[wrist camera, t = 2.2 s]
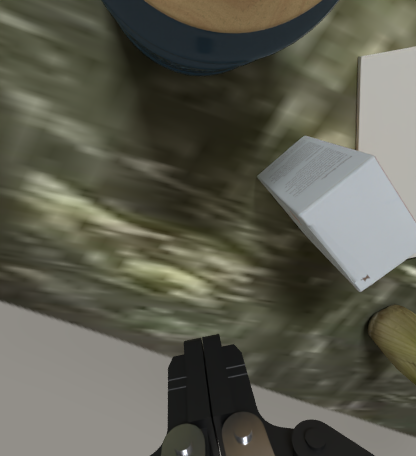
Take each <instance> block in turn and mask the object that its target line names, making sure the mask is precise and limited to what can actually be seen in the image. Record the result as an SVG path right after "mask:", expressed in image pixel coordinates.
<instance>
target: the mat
mask: <svg viewBox="0 0 416 456" xmlns="http://www.w3.org/2000/svg"><path fill="white" fill-rule="evenodd" d="M356 150H357V151H360V152H364V153H367V154H371V155H374V156H375V157H376V159H377V161H378V162H379V164H380V165H381V167H382V168H383V170H384V172H385V173H386V175H387V176H388V178H389V180H390V181H391V183H392V185H393V186H394V188H395V189H396V191H397V192H398V194H399V196H400V197H401V199H402V200H403V202H404V204H405V205H406V207H407V208H408V210H409V211H410V213H411V215H412V216H413V218H414V219H415V221H416V47H411V48H405V49H400V50H394V51H389V52H383V53H378V54H372V55H366V56H361V57H358V90H357V131H356ZM413 257H416V253H415V254H413V255H412V256H411V257H409V258H413Z"/></svg>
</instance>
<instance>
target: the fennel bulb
mask: <svg viewBox="0 0 416 456" xmlns="http://www.w3.org/2000/svg"><path fill="white" fill-rule="evenodd" d="M368 334H369V336H370V337H371V338H372V339H373V341H374V342H375V343H376V344H377V346H378V347H379V348H380V350H381V351H382V352H383V354H384V355H385V356H386V357H387V358H388V359H389V360H390V362H391V363H392V364H393V365H394V366H395V367H396V368H397V369H398V370H399V371H400V372H401V373H402V374H403V375H405V376H406V377H407V378H408V379H409V380H410V381H411V382H413V383H414V384H415V385H416V314H414V313H413V312H411V311H410V310H408V309H406V308H405V307H402V306H400V305H396V304H394V305H390V306H388V307H387V308H385V309H383V310H381V311H379V312H377V313H375V314H374V315H373V316H372V318H371V319H370V321H369V324H368Z"/></svg>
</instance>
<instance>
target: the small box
mask: <svg viewBox="0 0 416 456" xmlns="http://www.w3.org/2000/svg"><path fill="white" fill-rule="evenodd" d="M257 178H258V179H259V180H260V181H261V182H262V184H263V185H264V186H265V187H266V188H267V190H268V191H269V192H270V193H271V194H272V196H273V197H274V198H275V199H276V200H277V202H278V203H279V204H280V205H281V206H282V208H283V209H284V210H285V211H286V212H287V214H288V215H289V216H290V217H291V219H292V220H293V221H294V222H295V223H296V225H297V226H298V227H299V228H300V229H301V231H302V232H303V233H304V234H305V235H306V236H307V238H308V239H309V240H310V241H311V242H312V243H313V244H314V245H315V246H316V247H317V248H318V249H319V250H320V251H321V252H322V253H323V255H324V256H325V257H326V258H327V259H328V260H329V261H330V262H331V263H332V264H333V265H334V266H335V267H336V268H337V269H338V270H339V271H340V272H341V273H342V274H343V275H344V276H345V277H346V278H347V279H348V280H349V282H350V283H351V284H352V285H353V286H354V287H355V288H356V289H357V290H358V291H359V292H361V291H363V290H364V289H366V288H367V287H368V286H370V285H371V284H373V283H374V282H376V281H377V280H378V279H380V278H381V277H383V276H384V275H385V274H387V273H388V272H390V271H391V270H392V269H394V268H395V267H397V266H398V265H399V264H401V263H402V262H403V261H405V260H406V259H408V258H409V257H411V256H412V255H413V254H415V253H416V221H415V219H414V218H413V216H412V215H411V213H410V211H409V210H408V208H407V207H406V205H405V204H404V202H403V200H402V199H401V197H400V196H399V194H398V192H397V191H396V189H395V188H394V186H393V185H392V183H391V181H390V180H389V178H388V176H387V175H386V173H385V172H384V170H383V168H382V167H381V165H380V164H379V162H378V161H377V159H376V157H375V156H374V155H371V154H367V153H364V152H360V151H357V150H353V149H350V148H347V147H343V146H340V145H336V144H332V143H329V142H326V141H322V140H319V139H315V138H312V137H308V136H303V137H302V138H301V139H300V140H298V141H297V142H296V143H295V144H294V145H293V146H291V147H290V148H289V149H288V150H287V151H285V152H284V153H283V154H282V155H281V156H280V157H278V158H277V159H276V160H275V161H274V162H273V163H271V164H270V165H269V166H268V167H267V168H266V169H265V170H263V171H262V172H261V173H260V174H259V175H258V176H257Z"/></svg>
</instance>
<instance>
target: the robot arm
mask: <svg viewBox="0 0 416 456" xmlns="http://www.w3.org/2000/svg"><path fill="white" fill-rule="evenodd" d="M202 340H203V345H202ZM202 340H201V338H197V339H192V340H187V341H184V355H180V356H175V357H173V358H172V361H171V363H170V365H169V367H168V431H167V435H166V437H165V439H164V441H163V443H162V445H161V447H160V448H159V449H158V450H157V451H156V452H154V453H153V454H152V455H150V456H220V452H219V447H220V451H221V456H374V455H373V454H371V453H370V452H368V451H367V450H365V449H364V448H362V447H360V446H359V445H358V444H356V443H355V442H353V441H351V440H350V439H348V438H347V437H345V436H344V435H342V434H341V433H339V432H338V431H336V430H335V429H333V428H331V427H330V426H328V425H327V424H325V423H323V422H321V421H318V420H305V421H302V422H300V423H299V424H298V425H297V426H296V427H295V428H294V429H291V428H283V427H277V426H274V425H272V424H270V423H268V422H267V421H265V420H264V419H263V418H262V416H261V415H260V414H259V412H258V410H257V406H256V403H255V399H254V396H253V392H252V388H251V385H250V381H249V378H248V375H247V371H246V367H245V363H244V360H243V356H242V353H241V352H240V350H239V349H238V348H237V347H236V346H235V345H234V344H233V345H228V346H223V347H222V346H221V341H220V336H219V334H216V335H211V336H206V337H202ZM203 347H204V349H203ZM218 442H219V445H218Z"/></svg>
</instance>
